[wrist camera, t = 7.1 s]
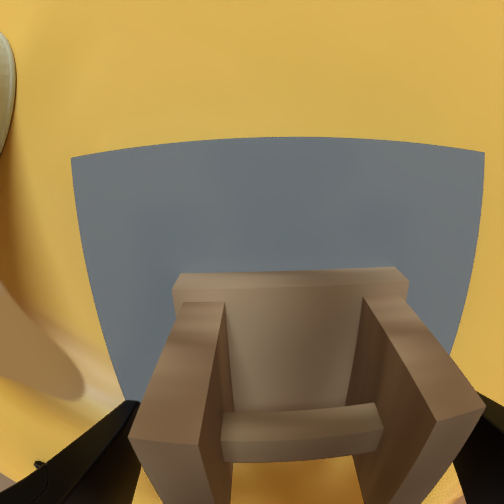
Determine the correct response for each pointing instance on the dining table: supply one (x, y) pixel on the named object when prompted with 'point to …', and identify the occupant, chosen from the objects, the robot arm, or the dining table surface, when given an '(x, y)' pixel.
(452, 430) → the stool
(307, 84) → the dining table surface
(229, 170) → the slab
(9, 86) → the can
